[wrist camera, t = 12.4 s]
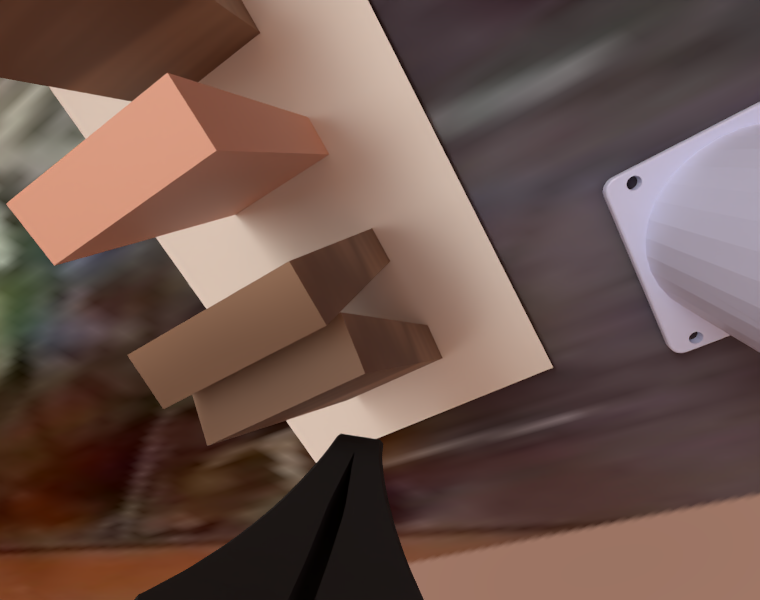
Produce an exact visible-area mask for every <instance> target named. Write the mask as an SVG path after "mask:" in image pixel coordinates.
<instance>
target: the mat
mask: <svg viewBox="0 0 760 600" xmlns="http://www.w3.org/2000/svg"><path fill="white" fill-rule="evenodd" d="M242 2H243V4H244V5H245V7H246V9H247V11H248V12H249V14H250V16H251V17H252V19H253V21H254V23H255V24H256V26H257V28H258V30H259V31H260V34H258V35H257V36H256V37H255V38H253V39H252V40H251V41H249V42H248V43H247V44H246V45H244V46H243V47H242V48H241V49H239V50H238V51H237V52H236V53H234V54H233V55H232V56H231V57H229V58H228V59H227V60H226V61H224V62H223V63H222V64H220V65H219V66H218V67H217V68H215V69H214V70H213V71H212V72H210V73H209V74H208V75H207V76H205V77H204V78H203V79H202V80H200V81H199V82H198V83H202V84H205V85H208V86H211V87H214V88H217V89H221V90H224V91H227V92H230V93H233V94H236V95H240V96H243V97H246V98H249V99H252V100H255V101H259V102H262V103H265V104H268V105H271V106H274V107H278V108H281V109H284V110H287V111H290V112H294V113H297V114H300V115H303V116H306V117H308V118H309V119H310V121H311V123H312V125H313V126H314V128H315V130H316V132H317V133H318V135H319V137H320V139H321V140H322V142H323V144H324V146H325V148H326V149H327V151H328V153H329V155H328V156H326V157H324V158H323V159H321V160H320V161H318V162H317V163H315V164H314V165H312V166H310V167H309V168H307V169H306V170H304V171H303V172H301V173H300V174H298V175H296V176H295V177H293V178H292V179H290V180H289V181H287V182H286V183H284V184H282V185H281V186H279V187H278V188H276V189H275V190H273V191H271V192H270V193H268V194H267V195H265V196H264V197H262V198H261V199H259V200H257V201H256V202H254V203H253V204H251V205H250V206H248V207H247V208H245V209H243V210H242V211H240V212H239V213H237V214H236V215H233V216H229V217H226V218H222V219H218V220H215V221H211V222H208V223H204V224H201V225H197V226H194V227H190V228H186V229H183V230H179V231H176V232H172V233H169V234H165V235H161V236H158V237H156V238H157V240H158V241H159V243H160V244H161V245H162V247H163V248H164V250H165V251H166V252H167V254H168V255H169V257H170V258H171V259H172V261H173V262H174V264H175V265H176V266H177V268H178V269H179V271H180V272H181V274H182V275H183V276H184V278H185V279H186V281H187V282H188V283H189V285H190V286H191V288H192V289H193V290H194V292H195V293H196V295H197V296H198V297H199V299H200V300H201V302H202V303H203V305H204V306H205V307H206V309H208V308H209V307H211V306H213V305H214V304H216V303H218V302H220V301H221V300H223V299H225V298H226V297H228V296H230V295H232V294H233V293H235V292H237V291H238V290H240V289H242V288H244V287H245V286H247V285H249V284H251V283H252V282H254V281H256V280H257V279H259V278H261V277H263V276H264V275H266V274H268V273H269V272H271V271H273V270H275V269H276V268H278V267H280V266H281V265H283V264H285V263H287V262H288V261H291V260H293V259H296V258H298V257H301V256H303V255H306V254H308V253H311V252H313V251H316V250H318V249H321V248H323V247H326V246H328V245H331V244H333V243H336V242H339V241H341V240H344V239H346V238H349V237H351V236H354V235H356V234H359V233H361V232H364V231H366V230H369V229H371V228H372V229H373V231H374V232H375V234H376V236H377V238H378V240H379V242H380V243H381V245H382V247H383V249H384V251H385V252H386V254H387V256H388V258H389V260H390V262H389V263H388V264H387V265H386V266H385V267H384V268H383V269H382V270H381V271H380V272H379V273H378V274H377V275H376V276H375V277H374V278H373V279H372V280H371V281H370V282H369V283H368V284H367V285H366V286H365V287H364V288H363V289H362V290H361V291H360V292H359V293H358V294H357V295H356V296H355V297H354V298H353V299H352V301H351V302H350V303H349V304H348V305H347V306H346V307H345V308H344V309H343V310H342V311H341V312H343V313H350V314H356V315H363V316H370V317H377V318H383V319H390V320H397V321H403V322H410V323H417V324H424V325H428V327H429V329H430V331H431V333H432V336H433V338H434V340H435V342H436V345H437V347H438V349H439V351H440V353H441V356H442V359H439V360H437V361H435V362H433V363H430V364H428V365H426V366H424V367H421V368H419V369H417V370H415V371H412V372H410V373H408V374H406V375H403V376H401V377H399V378H397V379H394V380H392V381H390V382H388V383H385V384H383V385H381V386H379V387H376V388H374V389H372V390H370V391H367V392H365V393H363V394H361V395H358V396H356V397H354V398H352V399H349V400H347V401H344V402H341V403H338V404H334V405H331V406H328V407H325V408H322V409H319V410H316V411H313V412H310V413H307V414H304V415H301V416H298V417H295V418H291V419H288V420H286V421H287V423H288V424H289V426H290V427H291V428H292V430H293V431H294V433H295V434H296V435H297V437H298V438H299V440H300V441H301V442H302V444H303V445H304V447H305V448H306V449H307V451H308V452H309V454H310V455H311V457H312V458H313V459H314V461H315V462H316V463H317V462H318V461H319V459H320V458H321V457H322V456H323V454H324V453H325V452H326V451H327V449H328V448H329V447H330V446H331V444H332V443H333V441H334V440H335V439H336V437H337V436H338V435H340V434H347V435H353V436H360V437H366V438H372V439H377V438H379V437H382V436H384V435H387V434H389V433H392V432H394V431H397V430H399V429H402V428H404V427H407V426H409V425H412V424H414V423H417V422H419V421H422V420H424V419H427V418H429V417H432V416H434V415H437V414H439V413H441V412H444V411H446V410H449V409H451V408H454V407H456V406H459V405H461V404H464V403H466V402H469V401H471V400H474V399H476V398H479V397H481V396H484V395H486V394H489V393H491V392H494V391H496V390H499V389H501V388H503V387H506V386H508V385H511V384H513V383H516V382H518V381H521V380H523V379H526V378H528V377H531V376H533V375H536V374H538V373H541V372H543V371H546V370H548V369H551V368H553V366H552V364H551V362H550V360H549V358H548V356H547V354H546V352H545V350H544V348H543V346H542V344H541V342H540V340H539V338H538V336H537V334H536V332H535V330H534V328H533V326H532V324H531V322H530V320H529V318H528V316H527V314H526V313H525V311H524V309H523V307H522V305H521V303H520V301H519V299H518V297H517V295H516V293H515V291H514V289H513V287H512V285H511V283H510V281H509V279H508V277H507V275H506V273H505V271H504V269H503V267H502V265H501V263H500V261H499V259H498V257H497V255H496V253H495V251H494V249H493V247H492V245H491V243H490V241H489V239H488V237H487V235H486V233H485V231H484V229H483V227H482V225H481V223H480V221H479V219H478V217H477V215H476V213H475V211H474V209H473V207H472V205H471V204H470V202H469V200H468V198H467V196H466V194H465V192H464V190H463V188H462V186H461V184H460V182H459V180H458V178H457V176H456V174H455V172H454V170H453V168H452V166H451V164H450V162H449V160H448V158H447V156H446V154H445V152H444V150H443V148H442V146H441V144H440V142H439V140H438V138H437V136H436V134H435V132H434V130H433V128H432V126H431V124H430V122H429V120H428V118H427V116H426V114H425V112H424V110H423V108H422V106H421V104H420V102H419V100H418V98H417V96H416V95H415V93H414V91H413V89H412V87H411V85H410V83H409V81H408V79H407V77H406V75H405V73H404V71H403V69H402V67H401V65H400V63H399V61H398V59H397V57H396V55H395V53H394V51H393V49H392V47H391V45H390V43H389V41H388V39H387V37H386V35H385V33H384V31H383V29H382V27H381V25H380V23H379V21H378V19H377V17H376V15H375V13H374V11H373V9H372V7H371V5H370V3H369V1H368V0H242ZM49 88H50V89H51V91H52V92H53V93H54V95H55V96H56V98H57V99H58V100H59V102H60V103H61V105H62V106H63V107H64V109H65V110H66V112H67V113H68V114H69V116H70V117H71V119H72V120H73V121H74V123H75V124H76V126H77V127H78V129H79V130H80V131H81V133H82V134H83V136H84V137H85V138H88V137H89V136H90V135H91V134H93V133H94V132H95V131H96V130H97V129H99V128H100V127H101V126H102V125H104V124H105V123H106V122H107V121H109V120H110V119H111V118H112V117H113V116H115V115H116V114H117V113H118V112H120V111H121V110H122V109H123V108H125V107H126V106H127V105H128V104H129V103H131V101H126V100H120V99H115V98H110V97H104V96H99V95H93V94H88V93H82V92H77V91H72V90H66V89H61V88H55V87H50V86H49Z"/></svg>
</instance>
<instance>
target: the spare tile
mask: <svg viewBox="0 0 760 600" xmlns="http://www.w3.org/2000/svg"><path fill="white" fill-rule="evenodd" d="M328 155H329V153H328V151H327V149H326V148H325V146H324V144H323V142H322V140H321V139H320V137H319V135H318V133H317V132H316V130H315V128H314V126H313V125H312V123H311V121H310V119H309V118H308V117H306V116H303V115H300V114H297V113H294V112H290V111H287V110H284V109H281V108H278V107H274V106H271V105H268V104H265V103H262V102H259V101H255V100H252V99H249V98H246V97H243V96H240V95H236V94H233V93H230V92H227V91H224V90H221V89H217V88H214V87H211V86H208V85H205V84H202V83H198V82H195V81H192V80H189V79H186V78H183V77H179V76H176V75H173V74H170V73H166V74H165V75H164V76H163V77H161V78H160V79H159V80H158V81H156V82H155V83H154V84H153V85H152V86H150V87H149V88H148V89H147V90H145V91H144V92H143V93H142V94H140V95H139V96H138V97H137V98H136V99H134V100H133V101H132V102H131V103H129V104H128V105H127V106H126V107H125V108H123V109H122V110H121V111H120V112H118V113H117V114H116V115H115V116H113V117H112V118H111V119H110V120H109V121H107V122H106V123H105V124H104V125H102V126H101V127H100V128H99V129H97V130H96V131H95V132H94V133H93V134H91V135H90V136H89V137H88V138H86V139H85V140H84V141H83V142H81V143H80V144H79V145H78V146H77V147H75V148H74V149H73V150H72V151H70V152H69V153H68V154H67V155H65V156H64V157H63V158H62V159H61V160H59V161H58V162H57V163H56V164H54V165H53V166H52V167H51V168H50V169H48V170H47V171H46V172H45V173H43V174H42V175H41V176H40V177H38V178H37V179H36V180H35V181H34V182H32V183H31V184H30V185H29V186H27V187H26V188H25V189H24V190H22V191H21V192H20V193H19V194H18V195H16V196H15V197H14V198H13V199H11V200H10V201H9V202H8V203H6V204H7V206H8V207H9V208H10V209H11V211H12V212H13V213H14V214H15V216H16V217H17V218H18V220H19V221H20V222H21V223H22V225H23V226H24V227H25V229H26V230H27V231H28V232H29V234H30V235H31V236H32V238H33V239H34V240H35V241H36V243H37V244H38V245H39V247H40V248H41V249H42V250H43V252H44V253H45V254H46V255H47V257H48V258H49V259H50V261H51V262H52V263H53V264H54V265H58V264H62V263H65V262H69V261H72V260H76V259H79V258H83V257H87V256H90V255H94V254H97V253H101V252H104V251H108V250H111V249H115V248H119V247H122V246H126V245H129V244H133V243H136V242H140V241H144V240H147V239H151V238H154V237H158V236H161V235H165V234H169V233H172V232H176V231H179V230H183V229H186V228H190V227H194V226H197V225H201V224H204V223H208V222H211V221H215V220H218V219H222V218H226V217H229V216H233V215H236V214H237V213H239V212H240V211H242V210H243V209H245V208H247V207H248V206H250V205H251V204H253V203H254V202H256V201H257V200H259V199H261V198H262V197H264V196H265V195H267V194H268V193H270V192H271V191H273V190H275V189H276V188H278V187H279V186H281V185H282V184H284V183H286V182H287V181H289V180H290V179H292V178H293V177H295V176H296V175H298V174H300V173H301V172H303V171H304V170H306V169H307V168H309V167H310V166H312V165H314V164H315V163H317V162H318V161H320V160H321V159H323V158H324V157H326V156H328Z"/></svg>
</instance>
